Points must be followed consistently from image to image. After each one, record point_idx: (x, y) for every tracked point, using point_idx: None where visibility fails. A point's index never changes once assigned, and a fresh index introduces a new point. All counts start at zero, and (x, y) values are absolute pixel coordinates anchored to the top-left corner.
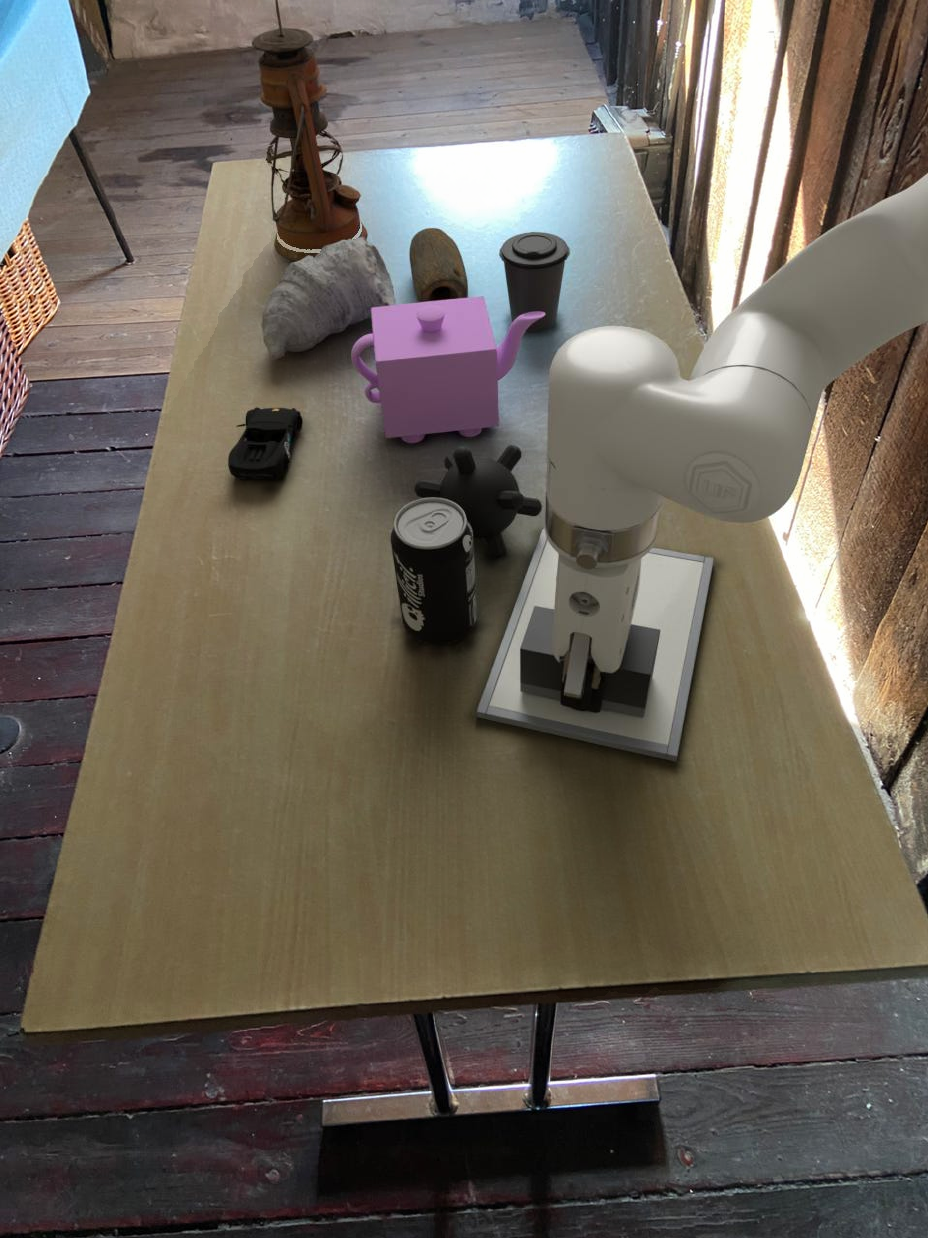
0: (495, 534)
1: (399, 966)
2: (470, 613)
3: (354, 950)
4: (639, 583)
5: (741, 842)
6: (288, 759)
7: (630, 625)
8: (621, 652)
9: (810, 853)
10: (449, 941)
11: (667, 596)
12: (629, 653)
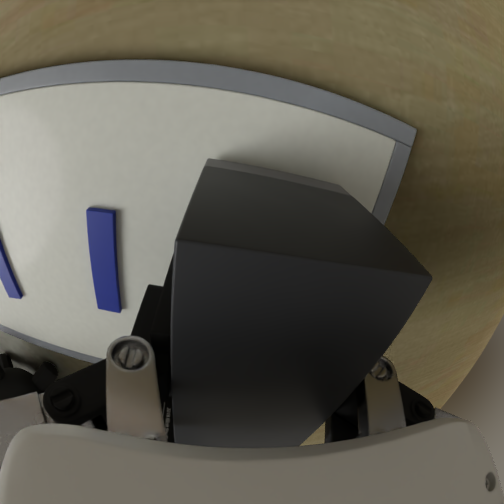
0: (39, 390)
1: (473, 354)
2: (166, 427)
3: (454, 375)
4: (30, 438)
5: (496, 79)
6: (320, 438)
7: (316, 472)
8: (477, 468)
9: (495, 13)
10: (477, 338)
11: (7, 150)
12: (326, 346)
